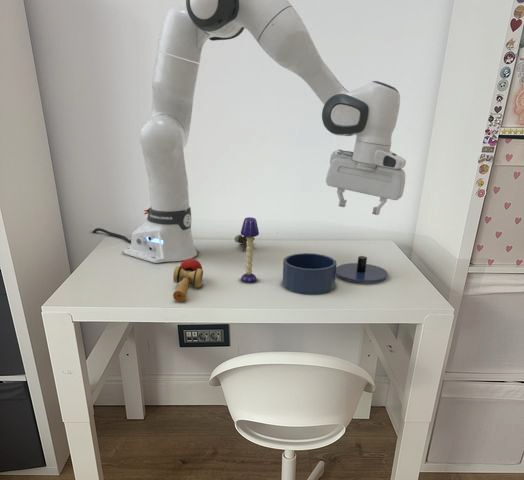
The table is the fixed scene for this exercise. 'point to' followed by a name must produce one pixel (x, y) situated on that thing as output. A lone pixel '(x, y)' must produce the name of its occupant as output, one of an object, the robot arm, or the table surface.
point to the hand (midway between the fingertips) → (358, 210)
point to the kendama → (187, 277)
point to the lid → (361, 271)
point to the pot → (309, 273)
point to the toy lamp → (249, 247)
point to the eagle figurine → (242, 240)
